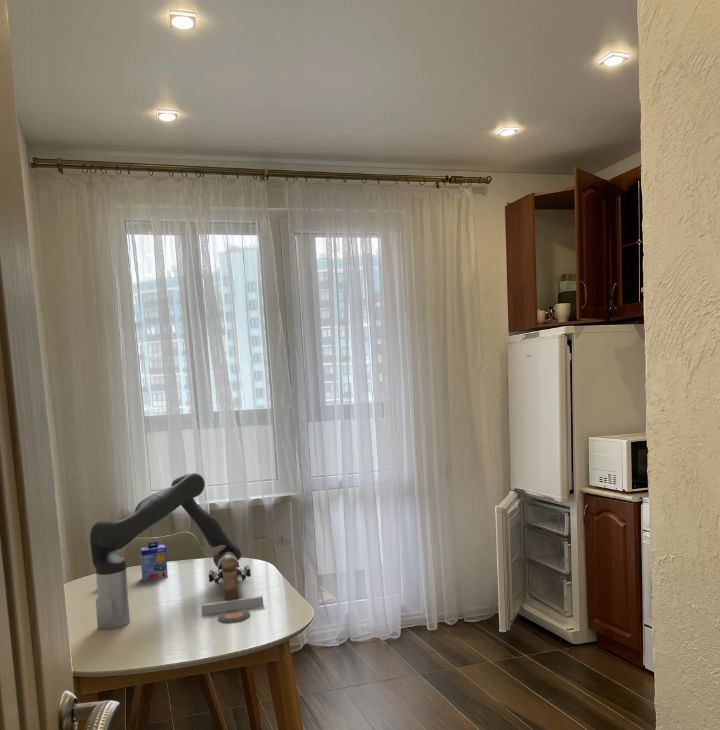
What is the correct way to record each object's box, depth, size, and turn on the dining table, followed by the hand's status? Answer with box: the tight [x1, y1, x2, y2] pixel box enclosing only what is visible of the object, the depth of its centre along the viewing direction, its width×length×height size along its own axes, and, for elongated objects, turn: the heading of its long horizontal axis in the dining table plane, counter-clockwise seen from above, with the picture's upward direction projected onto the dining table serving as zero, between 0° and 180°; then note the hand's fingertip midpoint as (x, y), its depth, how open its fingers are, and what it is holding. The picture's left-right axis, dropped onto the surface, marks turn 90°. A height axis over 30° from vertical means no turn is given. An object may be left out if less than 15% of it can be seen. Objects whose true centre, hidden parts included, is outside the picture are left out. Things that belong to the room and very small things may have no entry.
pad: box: [217, 609, 250, 624], centre depth 215 cm, size 10×10×1 cm
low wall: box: [200, 595, 264, 616], centre depth 222 cm, size 20×2×3 cm, turn 103°
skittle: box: [221, 557, 240, 601], centre depth 230 cm, size 5×5×16 cm
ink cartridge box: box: [139, 540, 169, 582], centre depth 269 cm, size 10×6×14 cm, turn 115°
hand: (230, 579), depth 228 cm, fingers open, 8 cm apart
